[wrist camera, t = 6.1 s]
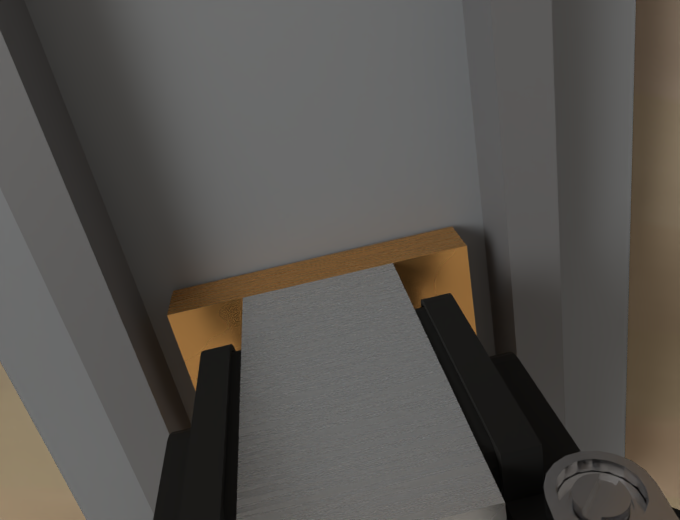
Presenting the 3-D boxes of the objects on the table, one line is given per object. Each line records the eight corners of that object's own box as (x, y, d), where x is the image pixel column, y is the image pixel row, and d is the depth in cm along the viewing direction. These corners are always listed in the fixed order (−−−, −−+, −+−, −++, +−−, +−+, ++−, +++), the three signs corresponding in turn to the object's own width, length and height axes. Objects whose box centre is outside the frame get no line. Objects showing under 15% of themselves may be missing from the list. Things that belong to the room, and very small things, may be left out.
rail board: (597, 458, 19) (788, 732, 12) (147, 568, 18) (87, 915, 12) (594, -452, 10) (1318, -1331, 3) (-282, -277, 9) (-1577, -863, 3)
